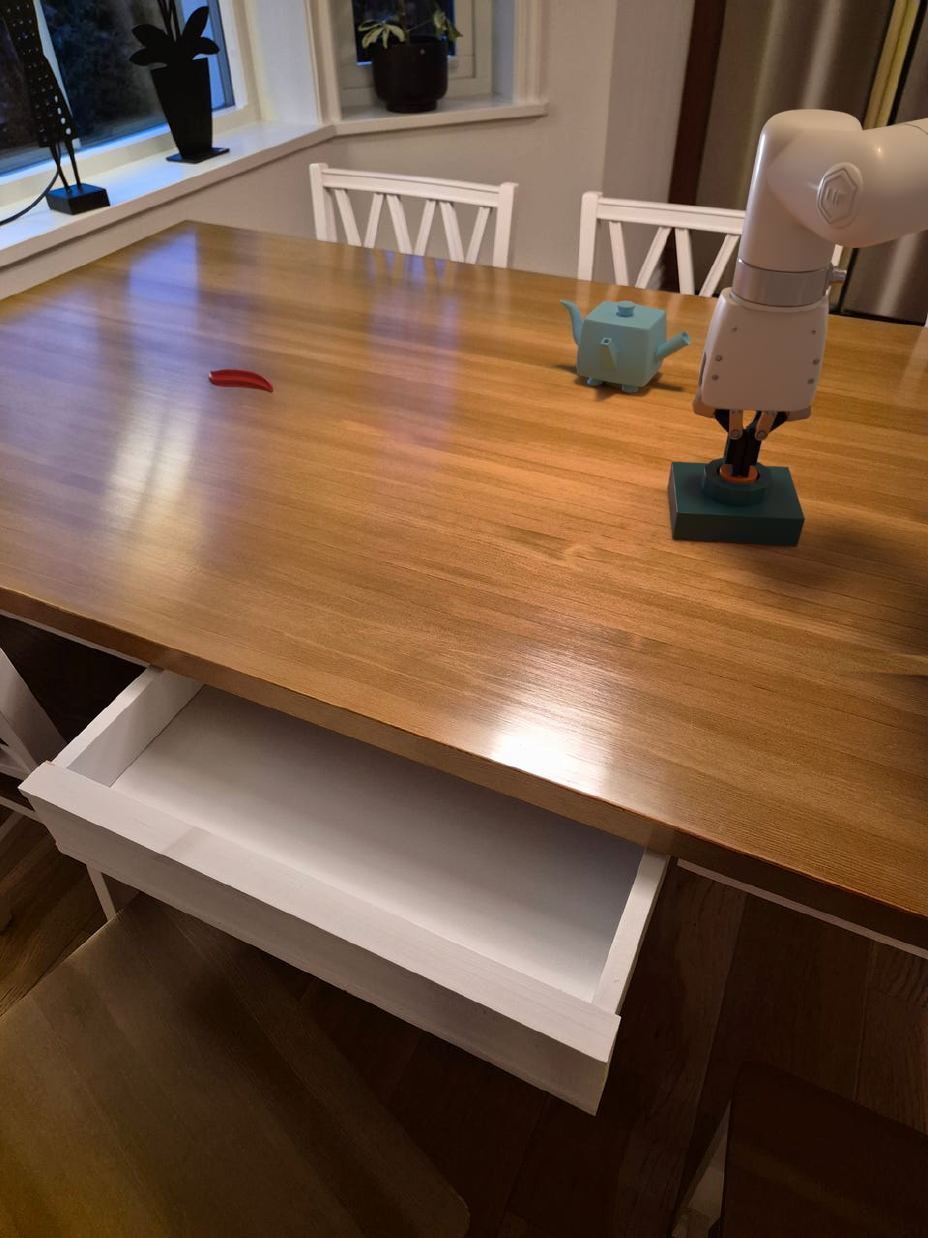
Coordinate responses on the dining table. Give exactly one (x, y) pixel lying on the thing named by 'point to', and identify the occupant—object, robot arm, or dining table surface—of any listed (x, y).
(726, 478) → the orange round cap
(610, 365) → the teapot
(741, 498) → the teal box orange button
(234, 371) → the cayenne pepper
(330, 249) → the dining table surface
